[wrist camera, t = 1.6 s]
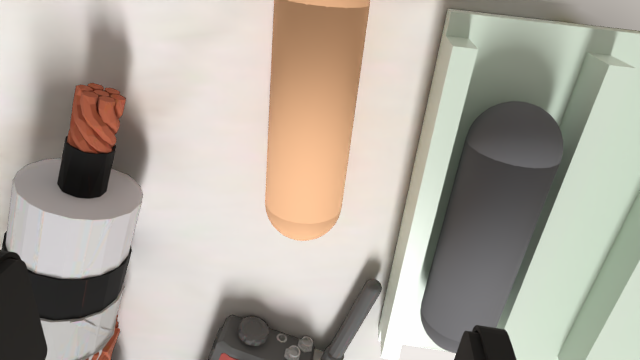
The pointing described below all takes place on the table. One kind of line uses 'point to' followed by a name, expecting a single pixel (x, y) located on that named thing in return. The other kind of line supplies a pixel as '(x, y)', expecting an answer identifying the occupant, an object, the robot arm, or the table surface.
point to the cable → (77, 230)
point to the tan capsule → (312, 111)
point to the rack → (564, 195)
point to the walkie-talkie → (288, 336)
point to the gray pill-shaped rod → (489, 218)
